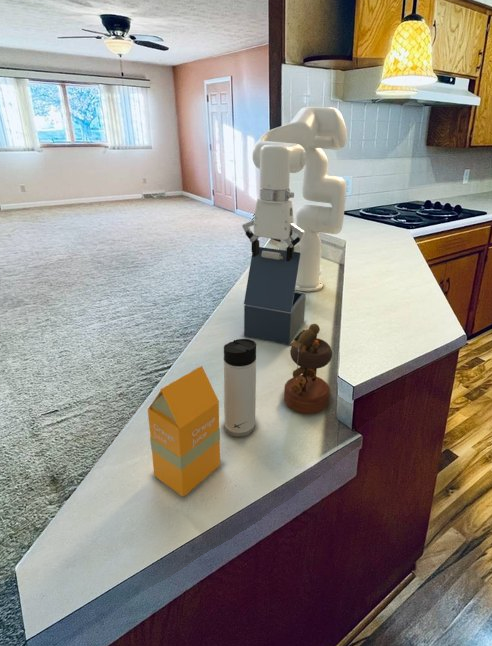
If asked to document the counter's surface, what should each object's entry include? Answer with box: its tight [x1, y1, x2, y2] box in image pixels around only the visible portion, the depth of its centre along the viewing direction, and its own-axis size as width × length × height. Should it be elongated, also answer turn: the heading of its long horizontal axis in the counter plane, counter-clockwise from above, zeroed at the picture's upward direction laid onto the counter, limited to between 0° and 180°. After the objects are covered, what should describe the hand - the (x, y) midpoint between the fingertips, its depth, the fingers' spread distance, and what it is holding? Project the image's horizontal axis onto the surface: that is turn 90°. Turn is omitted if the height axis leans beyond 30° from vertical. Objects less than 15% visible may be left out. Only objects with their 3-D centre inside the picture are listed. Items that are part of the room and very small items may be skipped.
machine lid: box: [243, 246, 301, 312], centre depth 113 cm, size 17×14×6 cm
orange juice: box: [147, 365, 221, 498], centre depth 70 cm, size 8×9×20 cm
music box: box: [283, 323, 333, 415], centre depth 92 cm, size 15×11×20 cm
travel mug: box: [223, 338, 257, 438], centre depth 81 cm, size 6×7×20 cm
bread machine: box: [243, 291, 307, 346], centre depth 124 cm, size 16×14×10 cm
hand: (272, 257), depth 113 cm, fingers open, 9 cm apart
